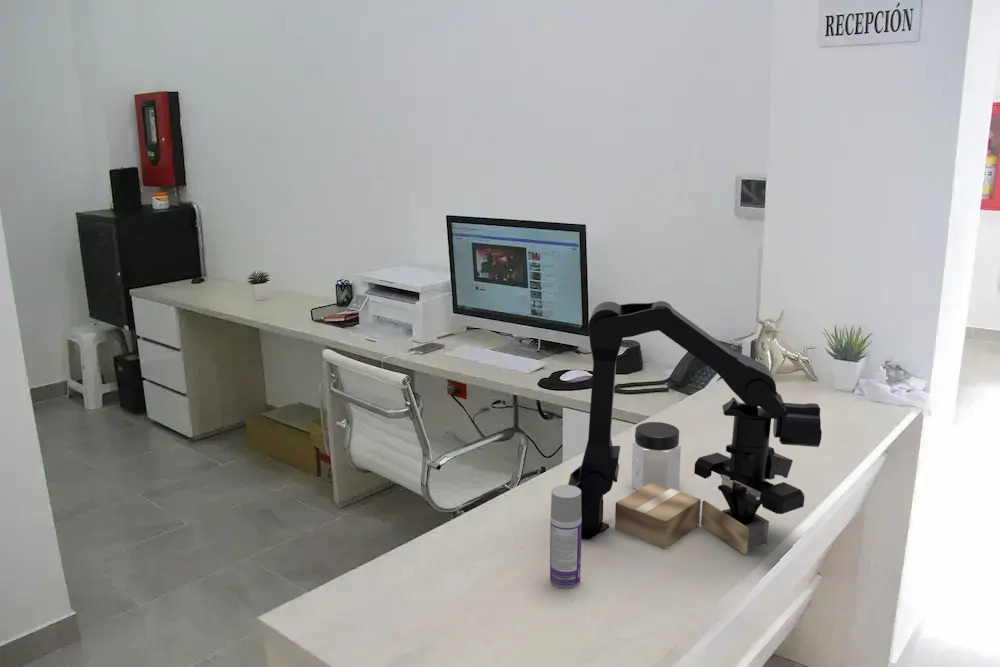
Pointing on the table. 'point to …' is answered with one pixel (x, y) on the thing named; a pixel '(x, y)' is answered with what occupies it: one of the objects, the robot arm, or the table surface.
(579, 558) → the container
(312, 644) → the table surface
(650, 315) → the robot arm
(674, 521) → the carton
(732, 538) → the flap
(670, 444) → the jar
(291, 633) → the table surface
